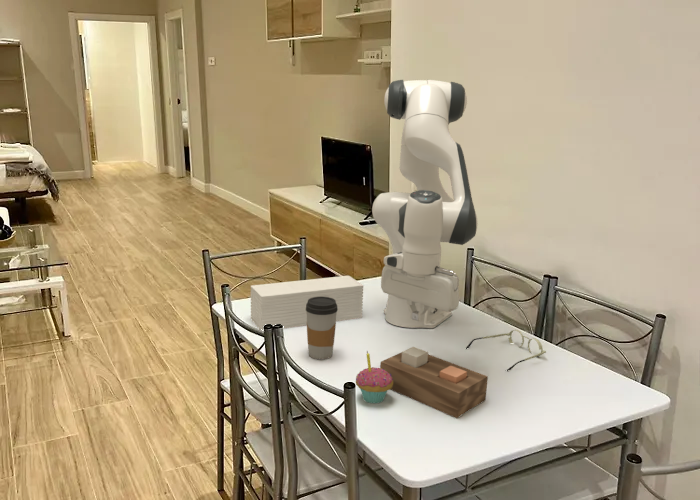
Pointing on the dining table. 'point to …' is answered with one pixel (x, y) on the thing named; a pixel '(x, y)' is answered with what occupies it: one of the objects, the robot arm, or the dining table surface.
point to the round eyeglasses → (512, 342)
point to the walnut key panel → (436, 385)
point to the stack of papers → (304, 300)
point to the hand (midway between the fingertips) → (417, 319)
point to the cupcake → (374, 383)
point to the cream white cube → (414, 357)
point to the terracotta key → (453, 374)
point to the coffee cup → (321, 326)
